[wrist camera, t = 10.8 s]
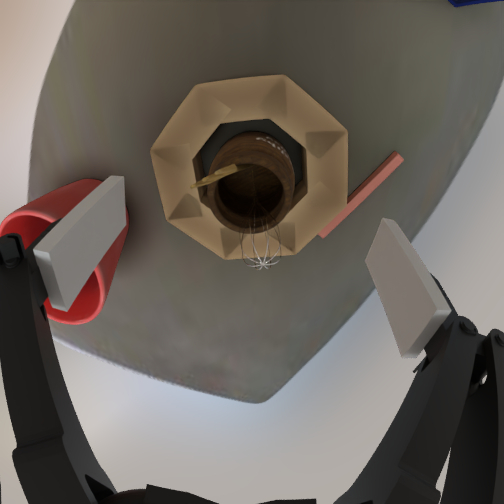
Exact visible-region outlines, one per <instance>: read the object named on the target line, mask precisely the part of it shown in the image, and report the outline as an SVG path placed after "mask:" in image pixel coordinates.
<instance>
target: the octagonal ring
mask: <svg viewBox="0 0 504 504" xmlns="http://www.w3.org/2000/svg"><path fill="white" fill-rule="evenodd" d="M269 118H270V119H271V120H272V121H273V122H275V123H276V124H277V125H278V126H279V127H281V128H282V129H283V130H284V131H286V132H287V133H288V134H289V135H290V136H292V137H293V138H294V139H295V140H296V141H297V142H299V143H300V144H301V152H302V172H303V179H302V180H301V182H300V183H299V184H298V185H297V186H296V187H295V188H294V192H293V197H292V202H291V205H290V208H289V211H288V213H287V215H286V216H285V217H284V219H283V220H282V221H281V222H280V223H279V224H278V226H275V227H274V228H275V229H274V228H272V229H270V230H268V233H267V231H265V232H262V233H257V234H254V247H255V249H256V252H257V254H258V256H259V257H265V255H266V257H270V256H274V255H275V254H276V252H277V251H278V249H279V246H280V244H279V240H280V238H281V251H280V249H279V251H278V253H277V254H276V255H275V256H283V255H296V254H297V253H298V252H299V251H300V250H301V249H302V248H303V247H304V246H305V245H306V244H307V243H308V242H310V241H311V240H312V239H313V238H314V237H315V236H316V235H317V234H318V233H319V232H320V231H321V230H322V229H323V228H324V227H325V226H326V225H327V224H328V223H330V222H331V221H332V220H333V219H334V218H335V217H336V216H337V215H338V214H339V213H340V212H341V211H342V210H343V209H344V208H345V207H346V206H347V187H348V131H347V130H346V129H345V128H344V127H343V126H342V125H341V124H340V123H339V122H338V121H337V120H336V119H335V118H334V117H333V116H332V115H331V114H330V113H328V112H327V111H326V110H325V109H324V108H323V107H322V106H321V105H320V104H319V103H317V102H316V101H315V100H314V99H313V98H312V97H311V96H309V95H308V94H307V93H306V92H305V91H304V90H302V89H301V88H300V87H299V86H298V85H297V84H295V83H294V82H293V81H292V80H290V79H289V78H288V77H287V76H285V75H269V76H256V77H246V78H237V79H229V80H222V81H215V82H208V83H202V84H196V85H195V86H194V88H193V89H192V90H191V92H190V93H189V94H188V96H187V97H186V98H185V100H184V101H183V102H182V104H181V105H180V106H179V108H178V109H177V111H176V112H175V113H174V115H173V116H172V118H171V119H170V121H169V122H168V123H167V125H166V126H165V128H164V129H163V131H162V132H161V134H160V135H159V137H158V138H157V140H156V141H155V143H154V144H153V146H152V148H151V149H150V154H151V158H152V163H153V167H154V172H155V176H156V180H157V185H158V189H159V193H160V197H161V201H162V205H163V209H164V213H165V217H166V221H168V222H169V223H171V224H172V225H174V226H175V227H177V228H178V229H180V230H181V231H183V232H184V233H186V234H187V235H189V236H190V237H192V238H193V239H195V240H196V241H198V242H199V243H201V244H202V245H204V246H205V247H207V248H208V249H210V250H211V251H213V252H214V253H216V254H217V255H219V256H220V257H222V258H223V259H225V260H228V259H242V250H243V251H244V253H245V254H246V255H247V256H248V257H249V258H254V254H255V258H256V257H258V256H257V254H256V252H255V249H254V252H253V243H252V240H253V234H243V233H240V237H239V232H235V231H233V230H231V229H229V228H227V227H225V226H224V225H223V224H221V223H220V222H219V221H218V220H217V219H216V217H215V216H214V215H213V213H212V211H211V209H210V206H209V203H208V196H207V188H206V185H203V186H200V187H197V188H193V189H191V188H190V186H191V185H192V184H194V183H196V182H199V181H201V180H202V179H203V178H205V176H204V171H203V165H202V159H201V153H200V149H201V148H202V146H203V145H204V144H205V143H206V141H207V140H208V139H209V137H210V136H211V135H212V134H213V132H214V131H215V130H216V128H217V127H218V126H219V125H220V123H228V122H237V121H246V120H257V119H269ZM278 227H279V230H278ZM275 230H276V231H275ZM279 231H280V237H279V239H278V236H279ZM276 232H277V233H276ZM265 233H266V235H265ZM277 234H278V236H277ZM242 235H243V239H242ZM251 235H252V240H251ZM268 235H269V240H268ZM266 236H267V239H266ZM240 239H241V242H242V250H241V246H240ZM267 240H268V245H269V249H268V250H267ZM266 250H267V254H266ZM269 250H270V256H269ZM244 253H243V258H248V257H247V256H246V255H245V254H244Z"/></svg>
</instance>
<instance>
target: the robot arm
mask: <svg viewBox="0 0 504 504" xmlns="http://www.w3.org/2000/svg"><path fill="white" fill-rule="evenodd" d="M125 226H126V210H125V187H124V176H113V175H111V176H110V177H108V178H107V179H106V180H105V181H104V182H102V183H101V184H100V185H99V186H98V187H97V188H96V189H94V190H93V191H92V192H91V193H90V194H89V195H88V196H86V197H85V198H84V199H83V200H82V201H81V202H80V203H79V204H78V205H77V206H75V207H74V208H73V209H72V210H71V211H70V212H69V213H68V214H67V215H66V216H65V217H64V218H60V219H58V220H56V221H54V222H52V223H51V224H50V225H49V226H48V227H47V228H46V229H45V231H43V232H42V233H41V234H40V236H38V237H37V238H36V239H35V240H34V241H33V242H32V243H31V244H30V245H29V246H28V247H27V248H26V250H25V247H24V244H23V240H22V237H21V235H20V234H18V233H9V234H6V235H3V236H1V237H0V362H1V369H2V377H3V383H4V389H5V395H6V400H7V405H8V410H9V414H10V419H11V422H12V427H13V431H14V434H15V438H16V442H17V448H16V449H14V450H13V452H12V458H13V462H14V467H15V469H16V472H17V475H18V478H19V481H20V484H21V486H22V489H23V491H24V494H25V496H26V499H27V501H28V503H29V504H219V503H215V502H213V501H210V500H207V499H204V498H202V497H199V496H196V495H194V494H191V493H188V492H183V491H177V490H171V489H167V488H162V487H157V486H153V485H149V484H147V487H146V489H134V490H128V491H123V492H119V493H117V491H116V489H115V488H114V486H113V484H112V483H111V481H110V479H109V478H108V476H107V475H106V473H105V472H104V470H103V469H102V468H101V467H100V465H99V463H98V461H97V460H96V458H95V456H94V454H93V452H92V450H91V447H90V445H89V443H88V441H87V439H86V436H85V434H84V432H83V429H82V427H81V425H80V422H79V420H78V417H77V415H76V412H75V410H74V407H73V404H72V401H71V399H70V396H69V393H68V390H67V387H66V384H65V381H64V378H63V375H62V372H61V368H60V365H59V362H58V358H57V355H56V351H55V347H54V343H53V339H52V335H51V331H50V326H49V322H48V317H47V312H46V308H45V306H44V302H45V300H46V299H47V297H49V300H50V303H51V305H52V308H56V309H59V310H63V311H66V312H68V310H69V308H70V307H71V305H72V303H73V302H74V300H75V298H76V297H77V295H78V294H79V292H80V290H81V289H82V287H83V286H84V284H85V283H86V281H87V280H88V278H89V277H90V275H91V274H92V272H93V271H94V269H95V268H96V266H97V265H98V263H99V262H100V260H101V259H102V257H103V256H104V255H105V253H106V252H107V250H108V249H109V247H110V246H111V245H112V243H113V242H114V240H115V239H116V238H117V236H118V235H119V234H120V232H121V231H122V230H123V228H124V227H125ZM365 263H366V265H367V267H368V270H369V272H370V274H371V277H372V279H373V282H374V284H375V286H376V289H377V291H378V294H379V296H380V299H381V302H382V304H383V307H384V309H385V312H386V315H387V317H388V320H389V323H390V325H391V328H392V331H393V334H394V336H395V339H396V342H397V345H398V348H399V351H400V354H401V357H402V358H417V356H418V355H419V354H420V353H421V351H422V350H423V349H424V350H425V352H426V357H425V358H424V359H423V360H422V361H421V363H420V364H419V365H418V366H417V367H416V368H415V370H414V371H413V372H414V373H415V372H416V371H417V370H418V371H417V374H416V376H415V378H414V380H413V382H412V385H411V387H410V389H409V391H408V393H407V395H406V397H405V399H404V401H403V403H402V405H401V407H400V409H399V411H398V413H397V414H396V416H395V418H394V420H393V422H392V424H391V425H390V427H389V429H388V431H387V432H386V434H385V436H384V438H383V439H382V441H381V443H380V444H379V446H378V447H377V449H376V451H375V453H374V454H373V455H372V457H371V459H370V460H369V462H368V463H367V465H366V466H365V468H364V469H363V471H362V472H361V474H360V475H359V476H358V478H357V479H356V481H355V482H354V483H353V485H352V486H351V487H350V488H349V490H348V491H347V492H345V493H344V494H343V495H342V496H341V497H339V498H338V499H337V500H336V501H335V502H334V503H333V504H438V503H439V501H440V497H441V495H440V494H441V493H440V491H438V490H437V489H436V483H437V480H438V478H439V476H440V473H441V471H442V469H443V466H444V463H445V461H446V459H447V456H448V454H449V451H450V448H451V451H450V458H449V464H448V469H447V475H446V480H445V484H444V489H443V493H442V498H441V502H440V504H504V333H503V332H502V331H500V330H498V329H492V330H491V331H490V333H489V334H488V335H487V336H484V335H481V334H479V333H478V330H477V328H476V326H475V325H474V324H473V322H471V321H470V320H469V319H467V318H466V317H464V316H458V314H457V312H456V311H455V309H454V307H453V305H452V303H451V302H450V300H449V298H448V297H447V295H446V293H445V291H444V290H443V288H442V286H441V285H440V283H439V281H438V280H437V279H436V278H435V277H434V276H433V275H432V274H431V273H429V271H428V270H427V268H426V266H425V265H424V263H423V262H422V260H421V259H420V257H419V255H418V254H417V252H416V251H415V249H414V248H413V246H412V245H411V243H410V242H409V240H408V239H407V237H406V236H405V235H404V233H403V232H402V230H401V229H400V227H399V226H398V225H397V223H396V222H395V221H394V220H390V219H386V218H382V220H381V223H380V225H379V228H378V230H377V233H376V235H375V238H374V240H373V243H372V245H371V247H370V250H369V252H368V255H367V257H366V259H365ZM486 375H487V378H486V381H485V383H484V384H483V383H482V379H483V378H484V377H485V376H486ZM0 504H1V484H0ZM259 504H316V499H299V500H274V501H269V502H264V503H259Z"/></svg>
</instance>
